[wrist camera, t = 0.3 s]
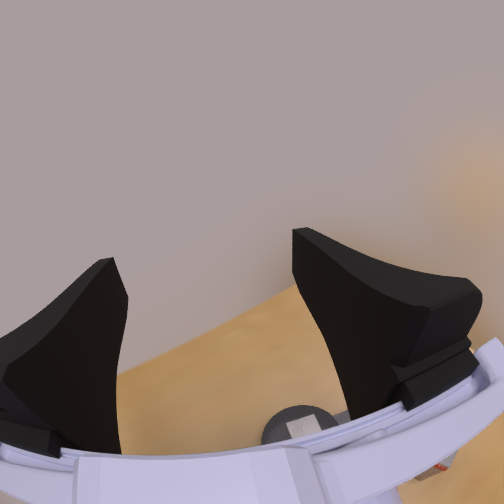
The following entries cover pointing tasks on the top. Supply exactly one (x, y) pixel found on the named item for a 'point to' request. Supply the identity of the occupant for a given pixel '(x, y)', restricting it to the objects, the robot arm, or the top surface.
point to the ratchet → (300, 423)
